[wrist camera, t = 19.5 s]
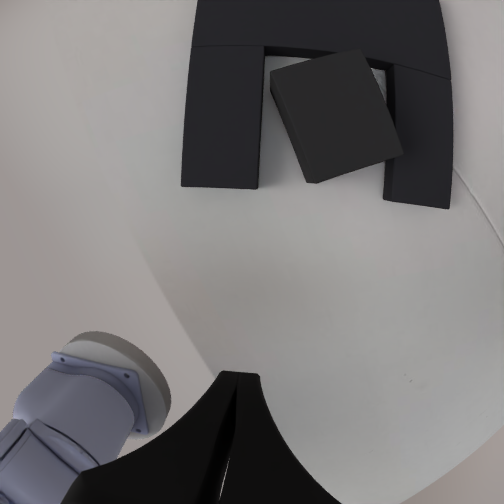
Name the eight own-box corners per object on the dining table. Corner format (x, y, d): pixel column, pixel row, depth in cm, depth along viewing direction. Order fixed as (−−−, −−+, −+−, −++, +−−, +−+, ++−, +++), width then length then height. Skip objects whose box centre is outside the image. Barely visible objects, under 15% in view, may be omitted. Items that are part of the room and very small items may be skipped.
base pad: (438, 207, 17) (449, 209, 16) (187, 185, 18) (180, 186, 17) (429, -1, 14) (437, -9, 12) (208, -30, 14) (204, -41, 13)
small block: (381, 158, 17) (405, 154, 14) (306, 183, 18) (315, 184, 14) (345, 68, 16) (361, 47, 12) (269, 90, 17) (269, 71, 13)
